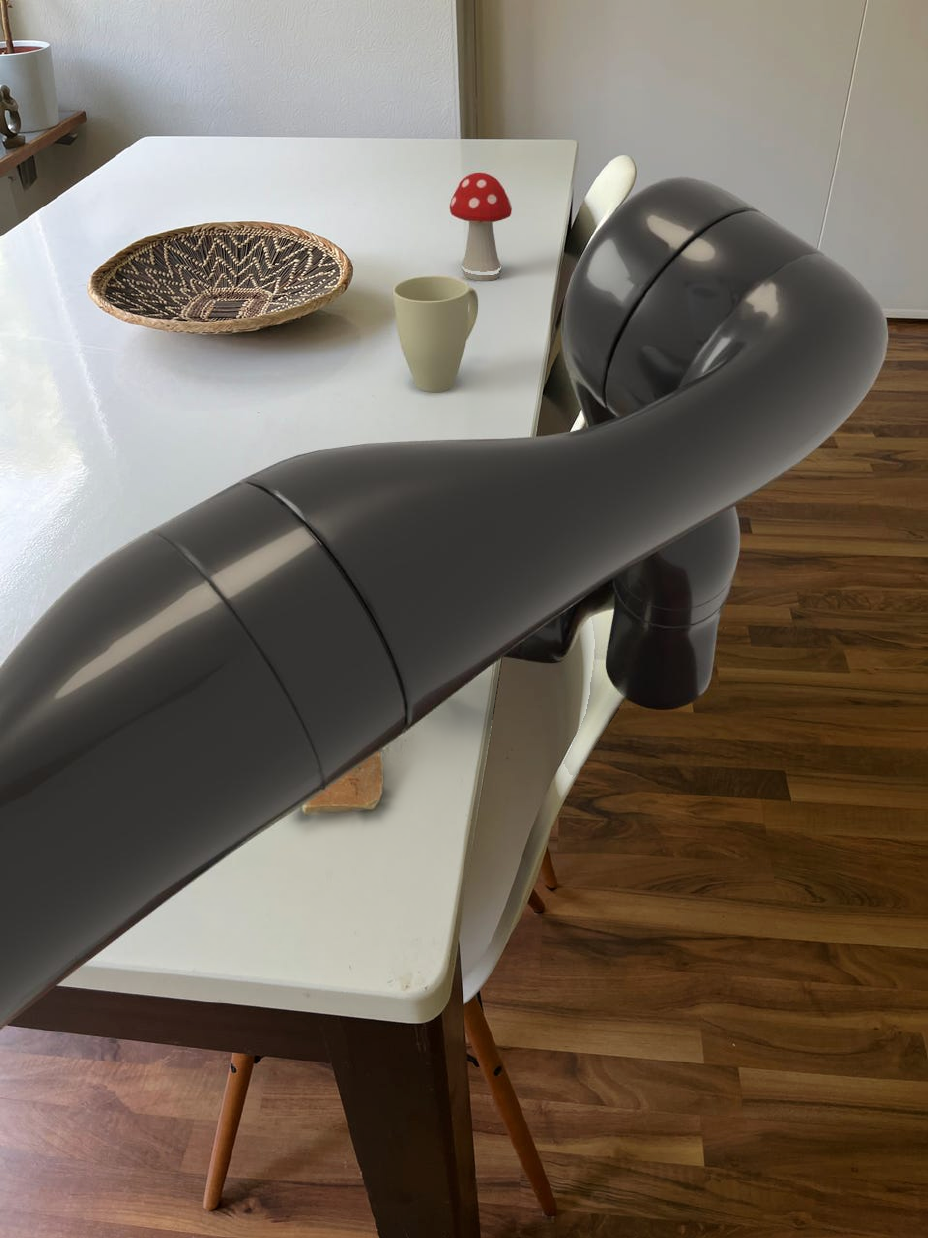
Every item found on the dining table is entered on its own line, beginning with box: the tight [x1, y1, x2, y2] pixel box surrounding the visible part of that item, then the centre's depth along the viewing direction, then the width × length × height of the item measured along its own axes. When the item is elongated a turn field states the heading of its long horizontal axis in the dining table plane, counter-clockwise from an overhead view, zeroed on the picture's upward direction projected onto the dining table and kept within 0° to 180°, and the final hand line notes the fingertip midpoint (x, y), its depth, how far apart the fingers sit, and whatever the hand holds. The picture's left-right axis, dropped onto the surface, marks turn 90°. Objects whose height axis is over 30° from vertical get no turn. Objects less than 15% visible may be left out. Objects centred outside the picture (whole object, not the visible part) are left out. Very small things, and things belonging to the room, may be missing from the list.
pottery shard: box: [300, 750, 384, 815], centre depth 71 cm, size 10×9×2 cm
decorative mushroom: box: [449, 172, 513, 282], centre depth 150 cm, size 10×9×15 cm
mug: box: [392, 275, 479, 393], centre depth 120 cm, size 11×10×12 cm
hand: (229, 566), depth 75 cm, fingers open, 8 cm apart
